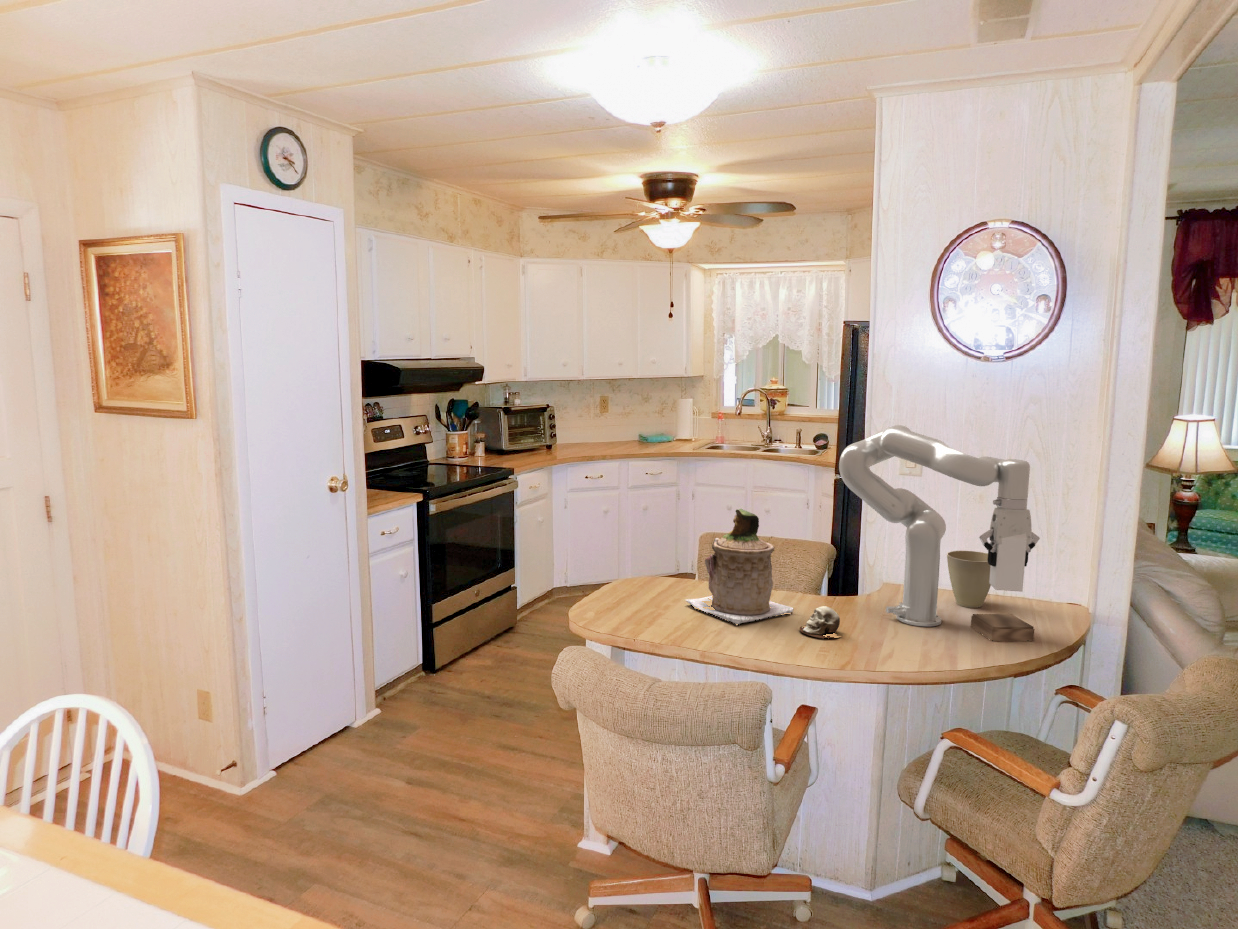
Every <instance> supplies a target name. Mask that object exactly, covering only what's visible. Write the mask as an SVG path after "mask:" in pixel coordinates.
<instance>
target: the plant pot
mask: <svg viewBox="0 0 1238 929" xmlns="http://www.w3.org/2000/svg"><path fill="white" fill-rule="evenodd" d="M946 561H947V568H948V569H947V570H948V575H949V580H950V583H951V588H952V592H953V596H954V598H955V602H956V604H957V606H961V607H963V608H970V609H971V608H972V609H975V608H976V609H978V607H979V608H981V607H982V606H983V605H984V602H985V600H986V599H987V596H988V594H989V592H990V588H991V587H992V586H991V585H990V583H989V579H990V566H991V565H989V564H988V552H984V551H983V552H982V551H975V550H953V551H952V550H951V551H948V552H947V553H946Z"/></svg>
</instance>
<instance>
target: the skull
mask: <svg viewBox="0 0 1238 929" xmlns="http://www.w3.org/2000/svg"><path fill="white" fill-rule="evenodd" d="M840 622H841V618H840V615H839V614H838V613H837V612H836V611H835V610H834V609H833V608H831V607H829V606H826V605H822V606H819V607H817V608H815V609H814V610H813V613H812V614H811V615H810V616H809V619H808V620H807V621H806V622H805V625H804V626H806V627H805V628H804V627H803V628H801V627H802V626H800V627H799V631H800V632H801V633H803V634H804V635H807V636H811V637H814V638H818V639H824V638H828V639H827V640H830V639H829V638H834V637H830V636H827V637H825V636H823V635H826V634H833V633H835V632H836V633H837V631H838V629H839V627H840Z"/></svg>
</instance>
